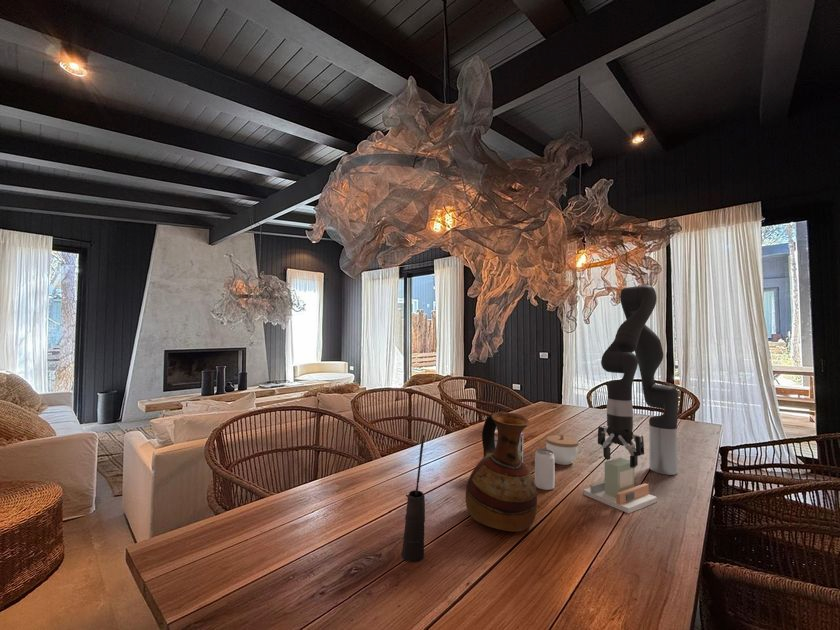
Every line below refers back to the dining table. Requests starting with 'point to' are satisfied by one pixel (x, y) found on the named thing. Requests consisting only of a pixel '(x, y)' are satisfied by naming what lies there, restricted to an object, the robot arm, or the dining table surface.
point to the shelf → (622, 497)
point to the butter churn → (414, 522)
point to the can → (544, 469)
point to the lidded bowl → (562, 448)
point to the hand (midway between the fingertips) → (620, 463)
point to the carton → (618, 476)
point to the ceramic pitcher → (502, 478)
